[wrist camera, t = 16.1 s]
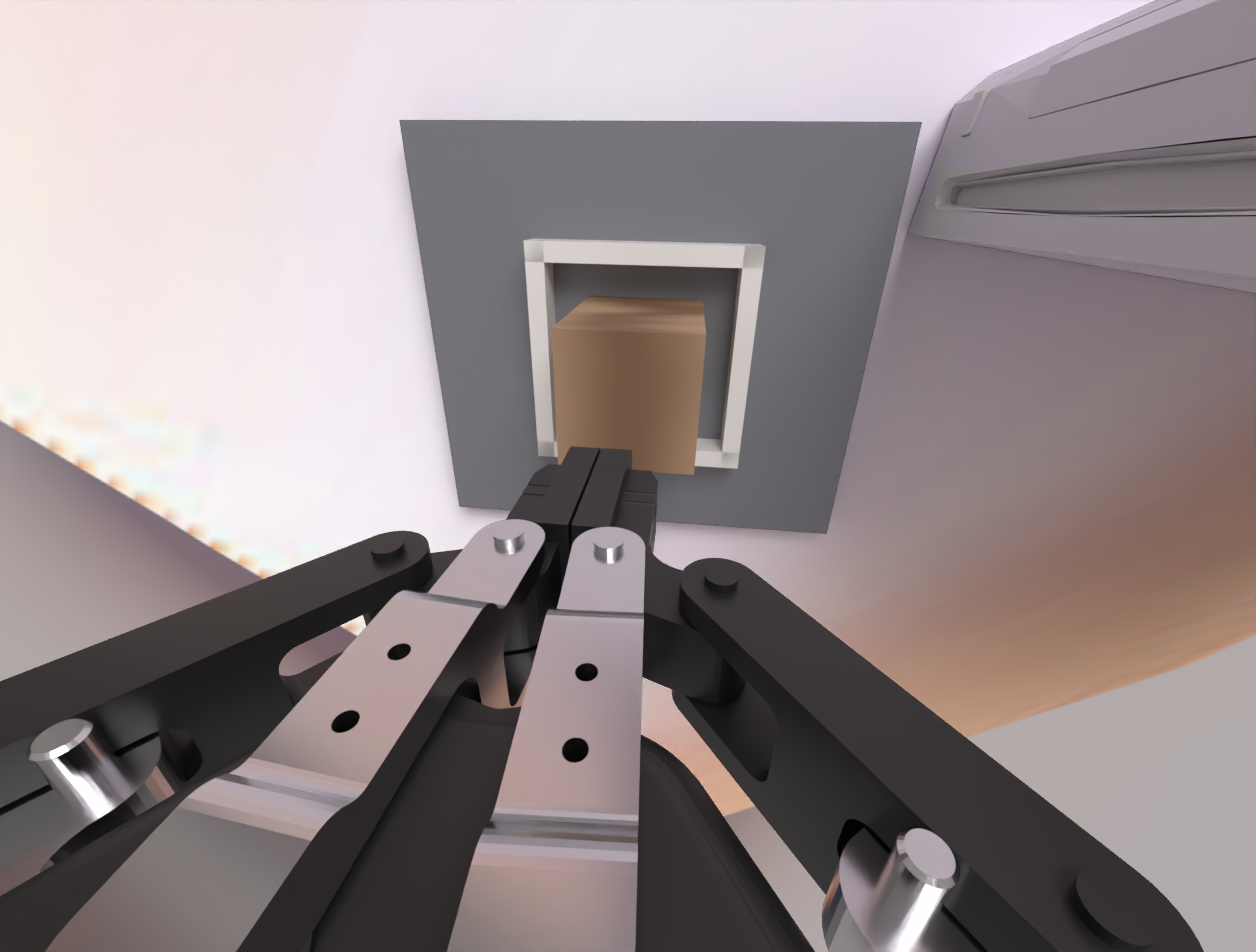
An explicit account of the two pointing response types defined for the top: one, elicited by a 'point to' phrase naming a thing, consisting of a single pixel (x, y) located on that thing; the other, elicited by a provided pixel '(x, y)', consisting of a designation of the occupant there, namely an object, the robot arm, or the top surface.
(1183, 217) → the game console
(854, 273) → the baseplate
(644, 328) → the walnut block
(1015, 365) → the top surface
